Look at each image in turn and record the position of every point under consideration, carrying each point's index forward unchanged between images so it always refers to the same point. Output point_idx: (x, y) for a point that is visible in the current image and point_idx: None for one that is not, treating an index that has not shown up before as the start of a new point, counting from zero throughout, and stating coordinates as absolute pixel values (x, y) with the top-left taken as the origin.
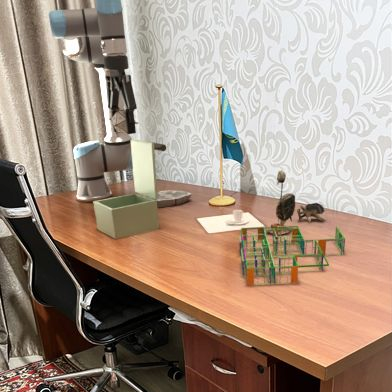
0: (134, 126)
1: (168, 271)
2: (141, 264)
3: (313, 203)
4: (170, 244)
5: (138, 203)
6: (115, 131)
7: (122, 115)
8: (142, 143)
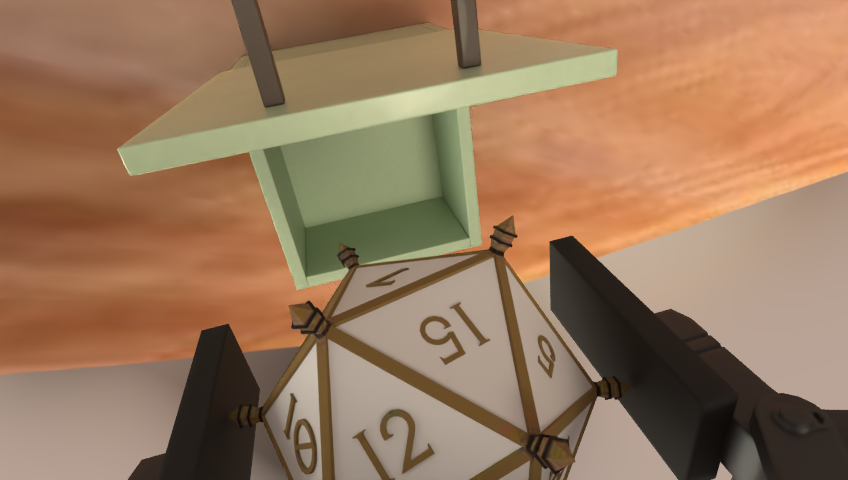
0: (609, 278)
1: (772, 134)
2: (687, 179)
3: None
4: None
5: (460, 129)
6: (258, 388)
7: (567, 473)
8: (424, 112)
